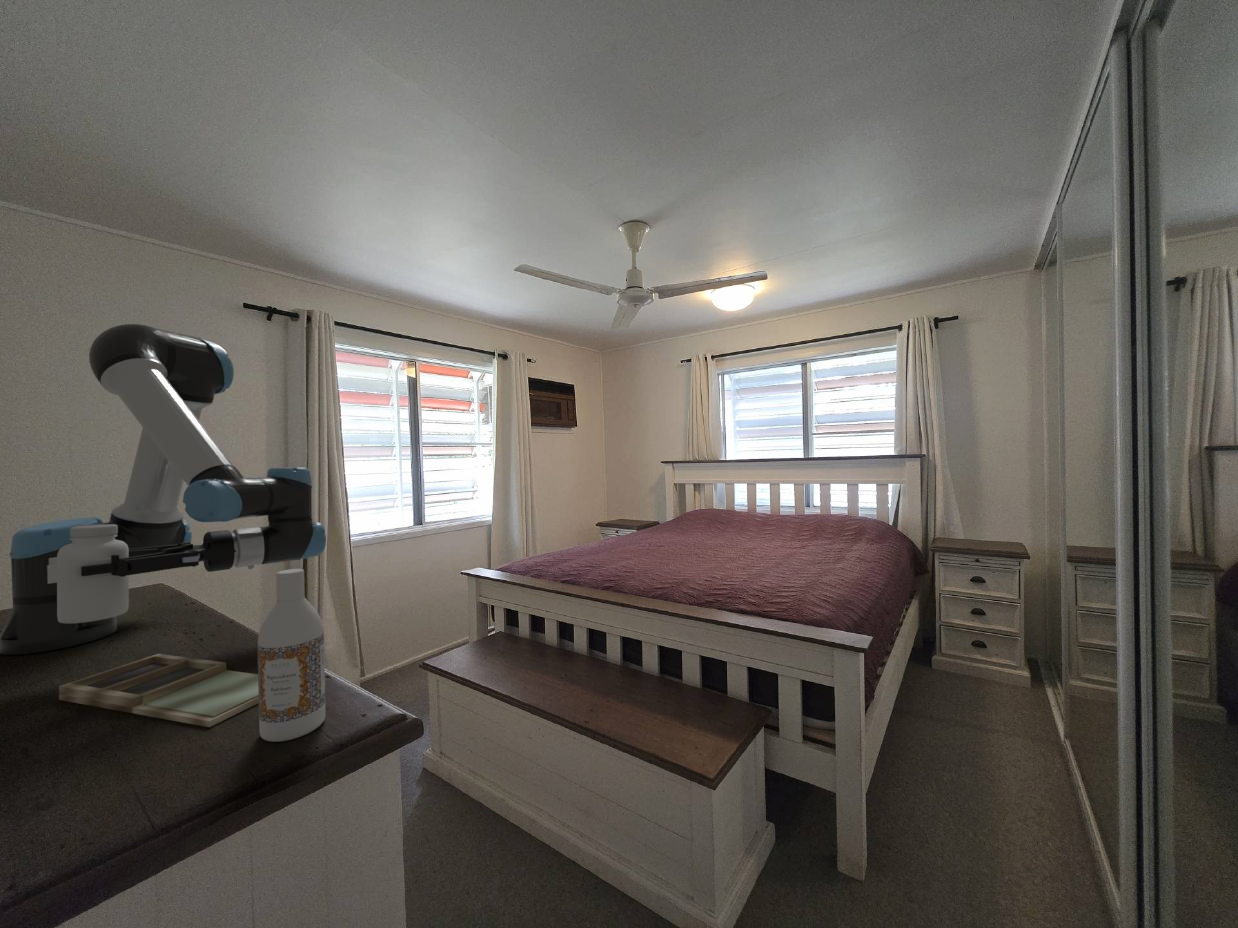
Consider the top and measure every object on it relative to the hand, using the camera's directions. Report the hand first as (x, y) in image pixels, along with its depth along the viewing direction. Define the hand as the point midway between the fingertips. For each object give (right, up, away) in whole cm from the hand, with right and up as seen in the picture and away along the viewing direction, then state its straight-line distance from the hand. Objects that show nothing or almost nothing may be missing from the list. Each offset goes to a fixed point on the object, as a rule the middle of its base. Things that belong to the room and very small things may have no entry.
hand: (48, 570), depth 75 cm
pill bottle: (+3, -9, +4) cm, 10 cm away
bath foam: (+48, -17, -14) cm, 53 cm away
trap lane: (+24, -17, -4) cm, 30 cm away
